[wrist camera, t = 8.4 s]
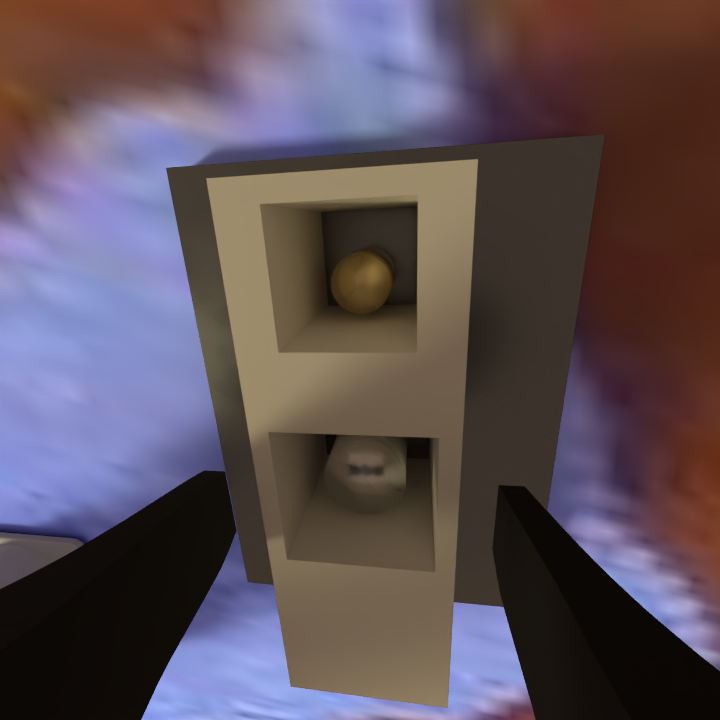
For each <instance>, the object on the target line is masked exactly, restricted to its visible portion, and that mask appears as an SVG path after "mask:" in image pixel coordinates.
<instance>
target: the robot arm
mask: <svg viewBox="0 0 720 720" xmlns="http://www.w3.org/2000/svg"><path fill="white" fill-rule="evenodd" d="M235 533H236V526H235V521H234V516H233V511H232V506H231V501H230V495H229V490H228V485H227V480H226V475H225V472H221V471H203V472H201V473H199V474H197V475H196V476H194V477H192V478H190V479H189V480H187V481H186V482H184V483H182V484H181V485H179V486H178V487H176V488H174V489H173V490H171V491H170V492H168V493H167V494H165V495H164V496H162V497H160V498H159V499H157V500H156V501H154V502H153V503H151V504H150V505H148V506H146V507H145V508H143V509H142V510H140V511H139V512H137V513H135V514H134V515H132V516H131V517H129V518H128V519H126V520H124V521H123V522H121V523H119V524H118V525H116V526H114V527H113V528H111V529H109V530H108V531H106V532H104V533H103V534H101V535H99V536H98V537H96V538H94V539H93V540H91V541H89V542H87V543H86V544H83V542H81V541H80V540H78V539H75V538H63V537H51V536H39V535H28V534H16V533H4V532H0V720H141V719H142V717H143V714H144V712H145V710H146V708H147V706H148V704H149V701H150V699H151V697H152V695H153V693H154V691H155V688H156V686H157V684H158V682H159V680H160V678H161V676H162V674H163V672H164V670H165V669H166V667H167V665H168V663H169V661H170V659H171V657H172V655H173V654H174V652H175V650H176V648H177V647H178V645H179V643H180V641H181V639H182V638H183V636H184V634H185V632H186V631H187V629H188V627H189V625H190V623H191V622H192V620H193V618H194V616H195V615H196V613H197V611H198V609H199V607H200V606H201V604H202V602H203V600H204V599H205V597H206V595H207V593H208V591H209V590H210V588H211V586H212V584H213V582H214V580H215V579H216V577H217V575H218V573H219V571H220V569H221V567H222V565H223V563H224V560H225V558H226V556H227V553H228V551H229V549H230V546H231V543H232V541H233V538H234V536H235ZM492 550H493V556H494V562H495V568H496V574H497V580H498V585H499V591H500V595H501V599H502V602H503V606H504V609H505V613H506V616H507V620H508V624H509V627H510V631H511V634H512V638H513V641H514V645H515V648H516V651H517V655H518V658H519V662H520V665H521V669H522V672H523V676H524V679H525V683H526V686H527V690H528V693H529V697H530V700H531V704H532V707H533V711H534V715H535V719H536V720H720V671H719V670H717V669H716V668H715V667H714V666H712V665H711V664H710V663H709V662H707V661H706V660H705V659H704V658H702V657H701V656H700V655H699V654H697V653H696V652H695V651H694V650H693V649H691V648H690V647H689V646H688V645H687V644H685V643H684V642H683V641H682V640H681V639H680V638H678V637H677V636H676V635H675V634H674V633H672V632H671V631H670V630H669V629H668V628H666V627H665V626H664V625H663V624H662V623H661V622H659V621H658V620H657V619H656V618H655V617H654V616H652V615H651V614H650V613H649V612H648V611H647V610H646V609H644V608H643V607H642V606H641V605H640V604H639V603H638V602H637V601H636V600H635V599H633V598H632V597H631V596H630V595H629V594H628V593H627V592H626V591H625V590H624V589H623V588H622V587H621V586H620V585H618V584H617V583H616V582H615V581H614V580H613V579H612V578H611V577H610V576H609V575H608V574H607V573H606V572H605V571H604V570H603V569H602V568H601V567H600V566H599V565H598V564H597V563H596V562H595V561H594V560H593V559H592V558H591V557H590V556H589V555H588V554H587V553H586V552H585V551H584V550H583V549H582V548H581V547H580V546H579V545H578V544H577V543H576V542H575V541H574V540H573V539H572V537H571V536H570V535H569V534H568V533H567V532H566V531H565V530H564V529H563V528H562V527H561V526H560V525H559V523H558V522H557V521H556V520H555V519H554V518H553V517H552V516H551V515H550V514H549V513H548V511H547V510H546V509H545V508H544V507H543V506H542V505H541V504H540V503H539V501H538V500H537V499H536V498H535V497H534V496H533V495H532V494H531V493H530V491H529V490H528V489H527V488H526V487H525V486H509V485H498V496H497V506H496V516H495V527H494V537H493V547H492Z"/></svg>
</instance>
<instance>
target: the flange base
mask: <svg viewBox="0 0 720 720" xmlns="http://www.w3.org/2000/svg"><path fill="white" fill-rule="evenodd" d="M604 137H605V134H602V135H589V136H576V137H563V138H550V139H537V140H524V141H511V142H498V143H485V144H472V145H459V146H446V147H433V148H420V149H407V150H394V151H381V152H368V153H355V154H342V155H329V156H316V157H303V158H290V159H277V160H264V161H251V162H237V163H224V164H211V165H198V166H185V167H172V168H166V170H167V175H168V180H169V185H170V190H171V195H172V200H173V205H174V210H175V215H176V220H177V225H178V230H179V236H180V241H181V246H182V251H183V256H184V261H185V266H186V271H187V276H188V281H189V286H190V291H191V296H192V301H193V306H194V311H195V316H196V322H197V327H198V332H199V337H200V342H201V347H202V352H203V357H204V362H205V367H206V372H207V377H208V382H209V387H210V392H211V397H212V402H213V408H214V413H215V418H216V423H217V428H218V433H219V438H220V443H221V448H222V453H223V458H224V463H225V468H226V473H227V478H228V483H229V488H230V494H231V499H232V504H233V509H234V514H235V519H236V524H237V529H238V534H239V539H240V544H241V549H242V554H243V559H244V564H245V569H246V574H247V579H248V582H252V583H262V584H273V585H274V582H273V576H272V570H271V564H270V558H269V552H268V546H267V540H266V534H265V528H264V522H263V516H262V510H261V504H260V498H259V492H258V486H257V480H256V474H255V468H254V462H253V456H252V450H251V444H250V438H249V432H248V426H247V420H246V414H245V408H244V402H243V396H242V390H241V384H240V378H239V372H238V366H237V360H236V354H235V348H234V342H233V336H232V330H231V324H230V318H229V312H228V306H227V300H226V294H225V288H224V282H223V276H222V270H221V264H220V258H219V252H218V246H217V240H216V234H215V228H214V222H213V216H212V210H211V204H210V198H209V192H208V186H207V180H206V178H220V177H234V176H248V175H262V174H276V173H290V172H304V171H318V170H332V169H346V168H360V167H374V166H388V165H403V164H417V163H431V162H445V161H459V160H473V159H478V168H477V186H476V204H475V222H474V240H473V259H472V277H471V295H470V313H469V331H468V349H467V368H466V386H465V404H464V422H463V440H462V459H461V477H460V495H459V513H458V531H457V549H456V568H455V586H454V602H459V603H469V604H479V605H490V606H500V607H504V606H503V602H502V599H501V595H500V591H499V585H498V580H497V574H496V568H495V562H494V556H493V550H492V547H493V537H494V527H495V516H496V506H497V496H498V485H509V486H525V487H526V488H527V489H528V490H529V491H530V493H531V494H532V495H533V496H534V497H535V498H536V499H537V500H538V501H539V503H540V504H541V505H542V506H543V507H544V508H545V509H546V510H547V506H548V500H549V493H550V487H551V480H552V474H553V468H554V461H555V455H556V448H557V442H558V435H559V429H560V422H561V416H562V409H563V403H564V396H565V390H566V383H567V377H568V370H569V364H570V357H571V351H572V344H573V338H574V331H575V325H576V318H577V312H578V306H579V299H580V293H581V286H582V280H583V273H584V267H585V260H586V254H587V247H588V241H589V234H590V228H591V221H592V215H593V208H594V202H595V195H596V189H597V182H598V176H599V169H600V163H601V157H602V150H603V144H604ZM321 216H322V229H323V243H324V256H325V270H326V283H327V297H328V306H341V307H343V308H344V309H345V310H347V311H349V312H352V313H355V314H367V313H371V312H374V311H375V310H377V309H379V308H380V307H381V306H382V305H406V304H417V207H402V208H383V209H365V210H347V211H328V212H321ZM325 437H326V448H327V455H330V456H329V458H328V461H327V464H326V466H325V470H324V483H325V486H326V489H327V491H328V493H329V494H330V496H331V497H332V498H333V499H334V500H335V501H336V502H337V503H338V504H339V505H341V506H342V507H344V508H346V509H348V510H350V511H353V512H356V513H360V514H378V513H382V512H385V511H387V510H389V509H391V508H392V507H394V506H395V505H396V504H397V503H398V502H399V501H400V500H401V498H402V497H403V494H404V492H405V487H406V465H407V458H417V459H429V438H426V437H397V436H368V435H339V434H325Z"/></svg>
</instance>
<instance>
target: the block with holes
mask: <svg viewBox="0 0 720 720" xmlns="http://www.w3.org/2000/svg"><path fill="white" fill-rule="evenodd" d="M477 168H478V159H473V160H459V161H445V162H431V163H417V164H403V165H388V166H374V167H360V168H346V169H332V170H318V171H304V172H290V173H276V174H262V175H248V176H234V177H220V178H206V180H207V186H208V192H209V198H210V204H211V210H212V216H213V222H214V228H215V234H216V240H217V246H218V252H219V258H220V264H221V270H222V276H223V282H224V288H225V294H226V300H227V306H228V312H229V318H230V324H231V330H232V336H233V342H234V348H235V354H236V360H237V366H238V372H239V378H240V384H241V390H242V396H243V402H244V408H245V414H246V420H247V426H248V432H249V438H250V444H251V450H252V456H253V462H254V468H255V474H256V480H257V486H258V492H259V498H260V504H261V510H262V516H263V522H264V528H265V534H266V540H267V546H268V552H269V558H270V564H271V570H272V576H273V582H274V588H275V594H276V600H277V606H278V612H279V618H280V624H281V630H282V636H283V642H284V648H285V654H286V660H287V666H288V672H289V678H290V684H291V687H298V688H306V689H313V690H320V691H327V692H335V693H342V694H349V695H357V696H364V697H371V698H378V699H386V700H393V701H400V702H408V703H415V704H422V705H429V706H437V707H444V708H448V695H449V677H450V658H451V640H452V622H453V604H454V586H455V568H456V549H457V531H458V513H459V495H460V477H461V459H462V440H463V422H464V404H465V386H466V368H467V349H468V331H469V313H470V295H471V277H472V259H473V240H474V222H475V204H476V186H477ZM402 207H417V304H406V305H382V306H381V307H380V308H379V309H377V310H375V311H374V312H371V313H367V314H355V313H352V312H349V311H347V310H345V309H344V308H343V307H341V306H328V297H327V283H326V270H325V256H324V243H323V229H322V216H321V212H328V211H347V210H365V209H383V208H402ZM325 434H339V435H368V436H397V437H426V438H429V459H417V458H407V465H406V487H405V492H404V494H403V497H402V498H401V500H400V501H399V502H398V503H397V504H396V505H395V506H394V507H392V508H391V509H389V510H387V511H385V512H382V513H378V514H360V513H356V512H353V511H350V510H348V509H346V508H344V507H342V506H341V505H339V504H338V503H337V502H336V501H335V500H334V499H333V498H332V497H331V496H330V494H329V493H328V491H327V489H326V486H325V483H324V470H325V466H326V464H327V461H328V458H329V456H330V455H327V448H326V437H325Z"/></svg>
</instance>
